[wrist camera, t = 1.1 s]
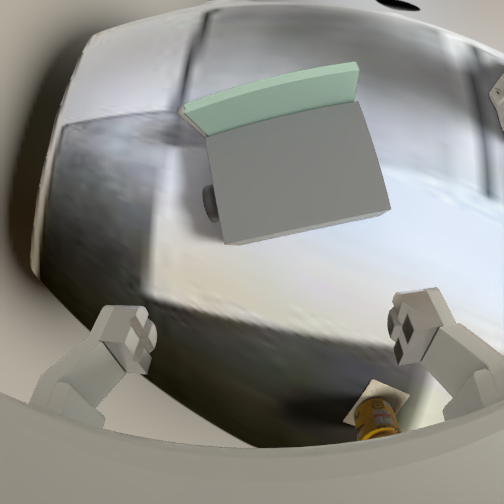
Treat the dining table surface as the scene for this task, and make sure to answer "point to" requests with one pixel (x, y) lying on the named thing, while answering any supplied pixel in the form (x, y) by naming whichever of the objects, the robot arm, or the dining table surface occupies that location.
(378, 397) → the condiment
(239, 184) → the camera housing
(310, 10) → the dining table surface
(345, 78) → the side door
